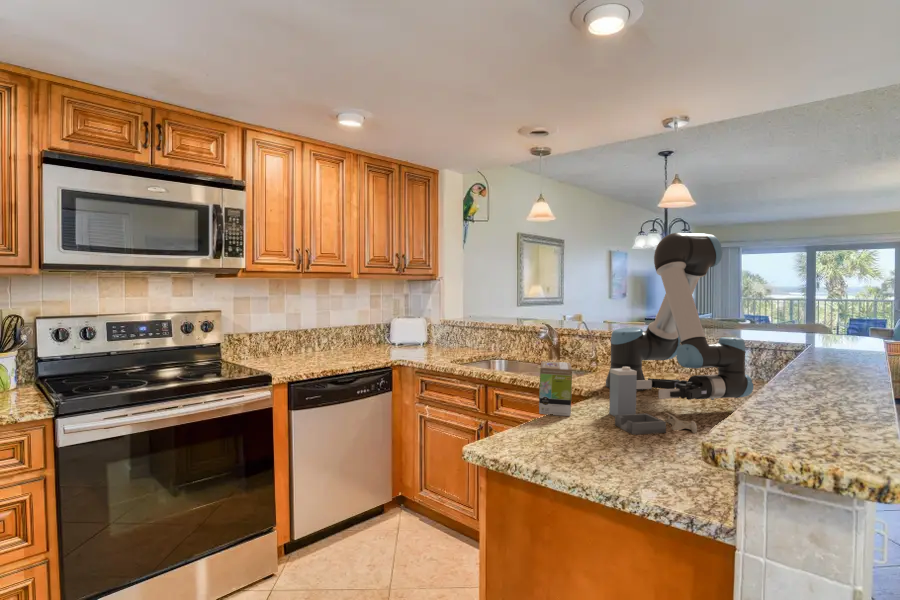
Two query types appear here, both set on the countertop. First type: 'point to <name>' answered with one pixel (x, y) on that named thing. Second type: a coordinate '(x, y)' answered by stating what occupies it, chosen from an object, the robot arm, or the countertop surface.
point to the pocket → (640, 423)
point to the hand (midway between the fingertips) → (645, 389)
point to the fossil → (681, 424)
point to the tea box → (555, 388)
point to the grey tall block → (622, 391)
